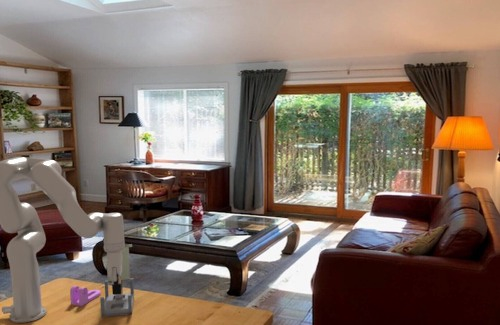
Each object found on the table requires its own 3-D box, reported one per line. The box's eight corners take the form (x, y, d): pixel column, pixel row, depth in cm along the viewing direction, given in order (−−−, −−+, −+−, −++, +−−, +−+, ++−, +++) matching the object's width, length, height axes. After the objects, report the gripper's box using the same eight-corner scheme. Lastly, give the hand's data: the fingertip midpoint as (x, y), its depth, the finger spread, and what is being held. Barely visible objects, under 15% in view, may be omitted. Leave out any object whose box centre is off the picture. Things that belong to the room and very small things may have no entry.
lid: (103, 246, 180) (103, 246, 181) (104, 284, 179) (104, 283, 180) (132, 244, 182) (132, 244, 183) (133, 281, 182) (133, 281, 183)
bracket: (82, 306, 176) (81, 289, 175) (70, 304, 178) (69, 287, 177) (103, 293, 188) (102, 277, 188) (92, 291, 190) (91, 276, 189)
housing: (101, 317, 167) (100, 295, 166) (105, 300, 181) (104, 280, 180) (131, 313, 169) (131, 292, 168) (134, 297, 184) (133, 278, 182)
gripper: (106, 240, 175) (109, 284, 178) (101, 253, 159) (104, 302, 162) (126, 238, 177) (129, 283, 179) (123, 251, 161) (126, 299, 163)
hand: (117, 291), depth 170 cm, fingers closed on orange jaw, 3 cm apart
